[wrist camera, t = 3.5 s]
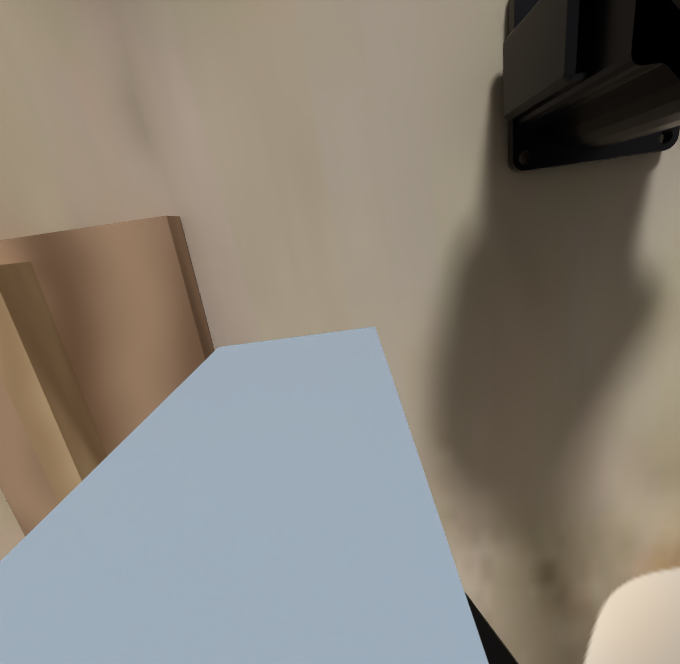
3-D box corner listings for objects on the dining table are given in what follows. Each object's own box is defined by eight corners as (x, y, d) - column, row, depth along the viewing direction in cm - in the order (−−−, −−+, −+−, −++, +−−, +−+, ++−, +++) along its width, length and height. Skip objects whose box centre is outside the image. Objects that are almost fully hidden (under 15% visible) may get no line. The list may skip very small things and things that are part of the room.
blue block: (375, 326, 10) (646, 1128, 1) (404, 588, 13) (542, 1374, 4) (218, 347, 10) (-614, 1163, 1) (282, 599, 13) (162, 1372, 4)
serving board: (179, 216, 15) (142, 214, 12) (261, 533, 20) (248, 583, 18) (-86, 255, 16) (-180, 262, 13) (60, 554, 21) (16, 606, 18)
